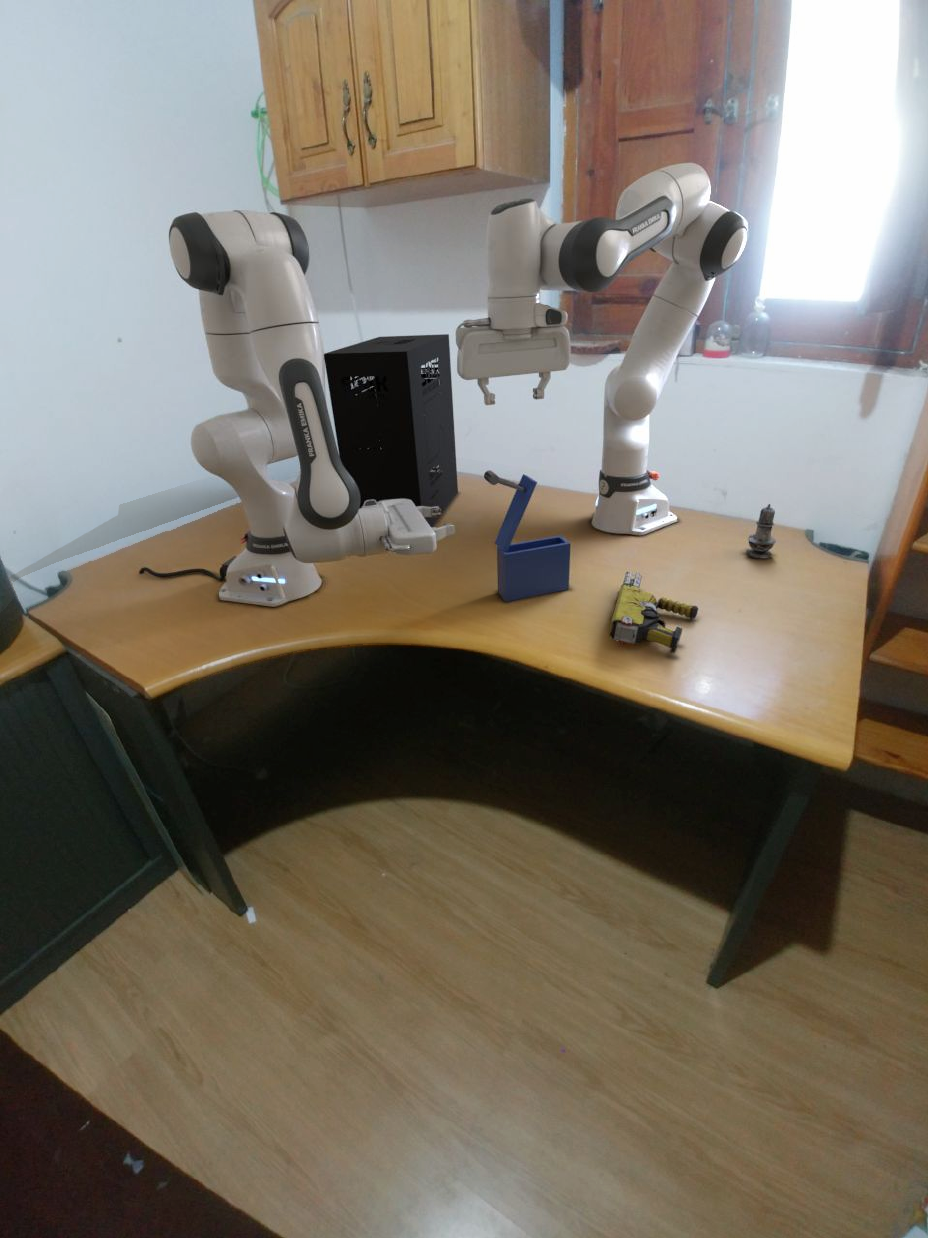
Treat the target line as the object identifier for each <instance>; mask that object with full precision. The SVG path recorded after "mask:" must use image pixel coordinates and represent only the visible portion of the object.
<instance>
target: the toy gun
mask: <svg viewBox="0 0 928 1238" xmlns="http://www.w3.org/2000/svg"><path fill="white" fill-rule="evenodd" d="M632 577H634V578H632ZM642 578H643V576H642V574H641V573H640V572H636V573H635V574H633V571H630V570H629V571H626V572H625V576H624V579H623V583H622V584H621V586H620V589H619V592H618V597H617V599H616V603H615V608H614V611H613V615H612V617H611V621H610V625H609V626H610V627H609V632H608V637H609V638H610V640H614V641H617V644H619V645H621V644H623V646H624V645H625V646H627V645H628V644H631V645H638V644H642V643H644V642H646V641H650V642H653V643H656V644H660V645H663V646H665V647H667V648H669V649H670V653H673V654H675V652H676V651H677V648H678V646H679V644H680V640H681V637H682V633H683V628H682V627H680V626H675V630H672V629H670V628H667V627H666V622H665V621H664V620H662V619H660V617H661V615H660V613H659V612H658V609H659V610H662V611H663V610H665V611H666V612H672V613H673V614H678V615H680V616H685V617H686V618H689V619H691V620H693V619H696V617H697V615H698V612H699V607H698V606H696V605H692V604H687V603H685V602H680V601H678V600H676V601H674V600H673V599H667V597H660V598H659V599H658V600H657V598H656V596H655V595H654V594H653V593H651V592H647V591H644V590H642V589H640V586H641V581H642Z"/></svg>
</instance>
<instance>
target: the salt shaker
mask: <svg viewBox="0 0 928 1238" xmlns="http://www.w3.org/2000/svg"><path fill="white" fill-rule="evenodd" d="M771 506H772V505H771V504H770V503H768V504H767V506H766V507H762V508H761V510H760V513H759V518H758V521H756V531H755V533H754V534H750V535H749V536H747V540H748V545H749V547H750V548H749V549H747V550H746V554H747V556H749V557H752V558H755V559H768V558H771V557H772V556H773V555H772V552H771V551H770V550H772V548H773V547H774V545H775V544H776V543H777V539H776V538H775V537H773V536H772V529H773V527H774V526H775V523H774V519H775V514H776V511H775V509H774V508H772V507H771Z"/></svg>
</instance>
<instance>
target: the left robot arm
mask: <svg viewBox="0 0 928 1238" xmlns="http://www.w3.org/2000/svg"><path fill="white" fill-rule="evenodd" d="M168 244H169V251H170V257H171V259H172V261H173V265H174V267H175V270H176V272H177V274H178V276H179V277H180V278H181V280H182V281H184V282H185V283H186V284H187V285H189V287H191V288H193V289H196V290H198V297H199V298H198V299H199V300H198V301H199V308H200V317H201V322H202V327H203V332H204V337H205V340H206V341H205V342H206V347H207V350H208V356H209V359H210V364H211V369H212V373H213V375H214V376H215V378H216V380H217V381H218V382H220V383H221V384H222V385H223V386H225V387H227V388H229V389H231V390H233V391H236V392H239V393H242V395H243V397H244V399H245V401H246V404H247V408H246V409H241V410H237V411H232V412H227V413H222V414H217V415H214V416H213V417H210V418H208V419H205V420H203V421H201V422H199V423H198V424H195V426H194V427H193V429H192V432H191V436H190V447H191V452H192V454H193V457H194V459H195V460H196V462H197V463H198V464H199V466H201V467H202V468H203V469H204V470H205V471H206V472H208V473H210V474H212V475H214V476H217V477H218V478H220V479H222V480H224V481H225V482H226V483H227V484H228V485H229V486H230V487H232V489H233V490H234V491H235V493H236V494H237V496H238V498H239V500H240V501H241V504H242V507H243V510H244V515H245V517H246V520H247V524H248V528H249V529H248V530H247V531H245V533H244V534H243V536H242V537H241V538H240V541H241V545H243V544H244V543H245V544H246V546H245V548H244V549H243V550H242V551H240V553H238V554H237V555H233V556H232V557H231V558H229V559H228V560H226V561H224V563H221V567H219V570H218V571H219V572H218V573H219V576H218V575H217V574H215V573H213V572H212V571H210V570H208V569H206V568H199V567H198V568H188V569H183V570H177V571H173V572H163V573H161V572H157V571H154V570H152V569H151V568H149V567H146V566H144V567H142V568H140V569H139V571H138V574H140V575H141V574H142V575H143V573H145V572H146V573H147V574H150V575H151V576H153V577H157V578H173V577H177V576H183V575H189V574H197V573H199V574H205V575H208V576H209V577H211V578H213V579H215V580H217V581H218V582H223V581H225V579H226V581H225V582H224V583H223V584H222V586H221V587H220V588H219V591H218V598H219V600H220V601H226V602H231V603H232V602H233V603H239V604H240V603H241V604H249V605H256V606H265V607H272V608H274V607H279V606H282V605H284V604H286V603H288V602H291V601H294V600H298V599H301V598H304V597H308V596H309V595H311V594H313V593H315V592H316V591H317V590H318V589H319V588H320V587H321V586H322V581H323V580H322V578H321V577H320V575H319V573H318V570H317V568H316V566H315V564H323V563H332V562H338V561H339V562H340V561H342V560H345V559H347V558H349V557H351V558H352V557H361V558H364V557H371V556H375V555H381V554H388V553H390V552H392V553H394V554H396V555H398V556H415V555H416V556H417V555H423V554H425V555H426V554H431V553H433V552H435V551H436V550H437V548H438V547H437V541H441V540H442V539H444V538H445V537H448V536H453V535H455V534H456V527H455V525H454V524H453V523H452V522H449V523H443V525H442V526H439V527H436V526H433V527H432V528H431V527H430V525H429V524H428V523H427V521H426V520H425V518H424V517H432V518H437V517H440V518H441V517H442V515H441V509H440V508H439V507H438V506H436V507H425V506H417V507H416V506H415V504H414V503H413V502H412V500H410V499H390V500H382V501H379V502H376V500H374V499H373V500H366V501H365V502H364V505H363V506H362V507H361V508H360V509H359V507H360V500H361V499H360V492H359V489H358V486H357V484H356V483H355V481H354V480H353V478H352V477H351V476H350V474H349V473H348V472H347V470H346V469H345V468H344V466H343V464H342V462H341V460H340V457H339V450H338V445H337V441H336V438H335V434H334V430H333V426H332V422H331V418H330V414H329V410H328V405H327V395H326V366H325V360H324V354H325V351H324V342H323V336H322V331H321V325H320V323H319V322H320V321H319V317H318V313H317V310H316V306H315V302H314V299H313V296H312V292H311V290H310V287H309V284H308V281H307V278H306V273H307V271H308V269H309V264H310V248H309V247H310V246H309V242H308V239H307V236H306V234H305V232H304V230H303V228H302V226H301V225H300V223H299V222H298V221H297V220H296V219H295V218H294V217H291V215H290V216H289V215H287V214H283V213H281V212H275V211H272V212H270V213H267V212H262V211H256V210H244V209H233V210H232V211H228V210H227V211H214V212H213V211H212V212H205V213H204V212H203V213H199V212H197V211H194V212H188V213H184V214H181V215H179V216H175V218H173V220H172V222H171V225H170V227H169V230H168ZM295 457H297V458H298V462H299V466H300V467H299V472H298V474H297V476H296V480H295V484H294V487H293V486H291V484H289V483H287V482H285V481H283V480H279V479H274V478H271V476H270V473H269V471H268V465H270V464H274V463H278V462H281V461H285V460H289V459H292V458H295Z"/></svg>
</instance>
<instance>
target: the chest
mask: <svg viewBox="0 0 928 1238" xmlns="http://www.w3.org/2000/svg"><path fill="white" fill-rule="evenodd" d="M570 565H571V542H570V541H568V540H567V539H566V538H565V537H563V535H561V534H560V535H555V536H549V537H542V538H538V539H531V540H525V541H520V542H514V543H511V545H510V547H509V549H508V552H503V551H502V550H501V549H500V548H499V547H498V546H497V545H496V572H497V573H496V574H497V575H496V576H497V593H498V594H499V596H500V597H501V598H502V599H503V601H504V602H511V601H516V600H521V599H527V598H531V597H537V596H542V595H547V594H552V593H557V592H563V591H567V590H569V588H570V569H571V568H570V567H571V566H570Z"/></svg>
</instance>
